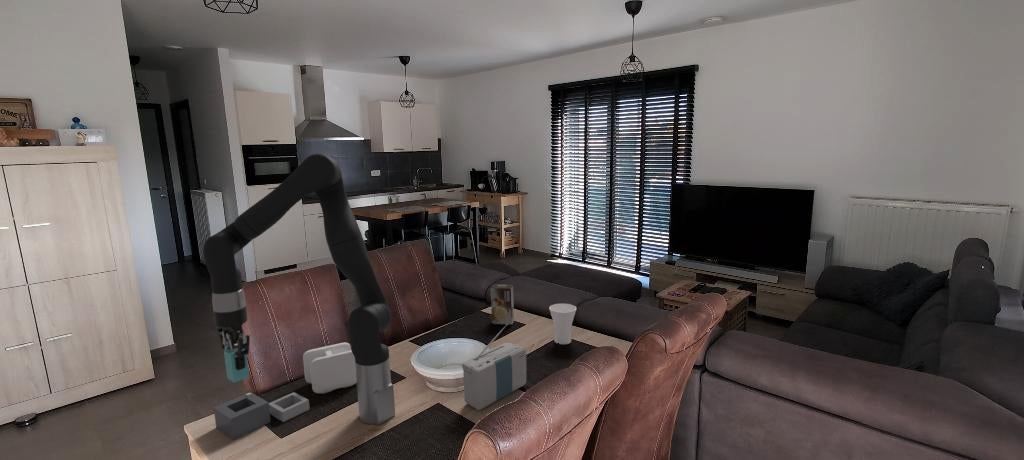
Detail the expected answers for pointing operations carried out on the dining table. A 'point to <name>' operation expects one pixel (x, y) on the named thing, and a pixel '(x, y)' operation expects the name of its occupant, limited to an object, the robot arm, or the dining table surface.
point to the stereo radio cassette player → (494, 374)
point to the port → (242, 415)
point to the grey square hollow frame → (290, 412)
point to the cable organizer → (330, 367)
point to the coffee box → (502, 304)
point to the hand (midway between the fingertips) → (236, 366)
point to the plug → (231, 367)
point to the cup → (562, 321)
